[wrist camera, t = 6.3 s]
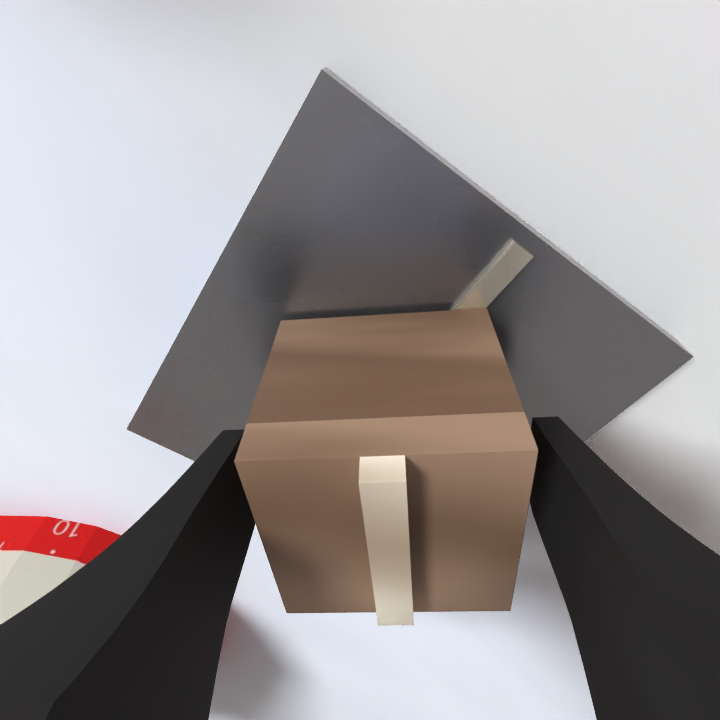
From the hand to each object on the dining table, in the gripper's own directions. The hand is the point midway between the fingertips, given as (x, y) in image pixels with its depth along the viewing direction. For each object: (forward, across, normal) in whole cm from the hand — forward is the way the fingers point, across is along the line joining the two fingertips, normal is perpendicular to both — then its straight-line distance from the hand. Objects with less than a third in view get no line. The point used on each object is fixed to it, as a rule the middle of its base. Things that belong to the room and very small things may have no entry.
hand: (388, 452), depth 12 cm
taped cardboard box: (+2, 0, 0) cm, 2 cm away
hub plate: (+3, 0, 0) cm, 3 cm away
